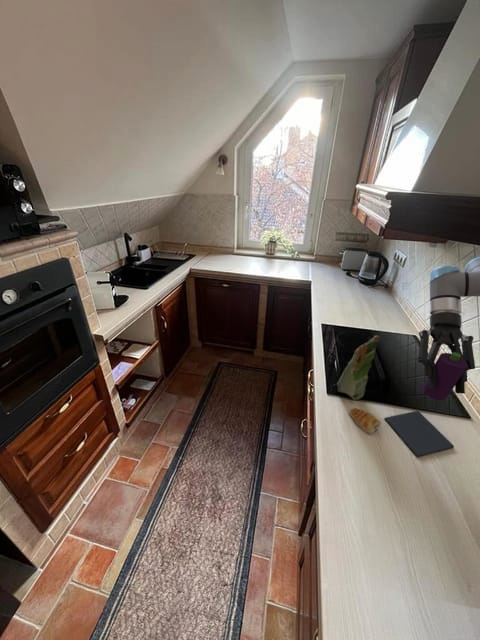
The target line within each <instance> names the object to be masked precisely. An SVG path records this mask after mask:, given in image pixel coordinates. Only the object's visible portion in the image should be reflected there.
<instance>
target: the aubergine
mask: <svg viewBox="0 0 480 640" xmlns="http://www.w3.org/2000/svg"><path fill="white" fill-rule="evenodd" d="M433 366H436V370H437V389H429V388H428V377H427V378H426V379H425V382H424V383H423V386H422V392H423V393H424V394H425V395H426V396H427V397H429V398H431V399H432V400H436V401H446V400H447V399H448V397H449V396H450V394H451V393H452V391H453V390H454V389H455V385H456V383H457V381H458V380H459V378H460V377H461V375H462V374H463V372H464V370H465V369H466V367H467V366H468V364H467V362H466V361H465V360H464V359H462V358H461V355H460V354H459V353H456V352H453V353H449V352H442V353H440V354H439V356H438V358H437V360H436V361H435V362H434V364H433Z"/></svg>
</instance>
